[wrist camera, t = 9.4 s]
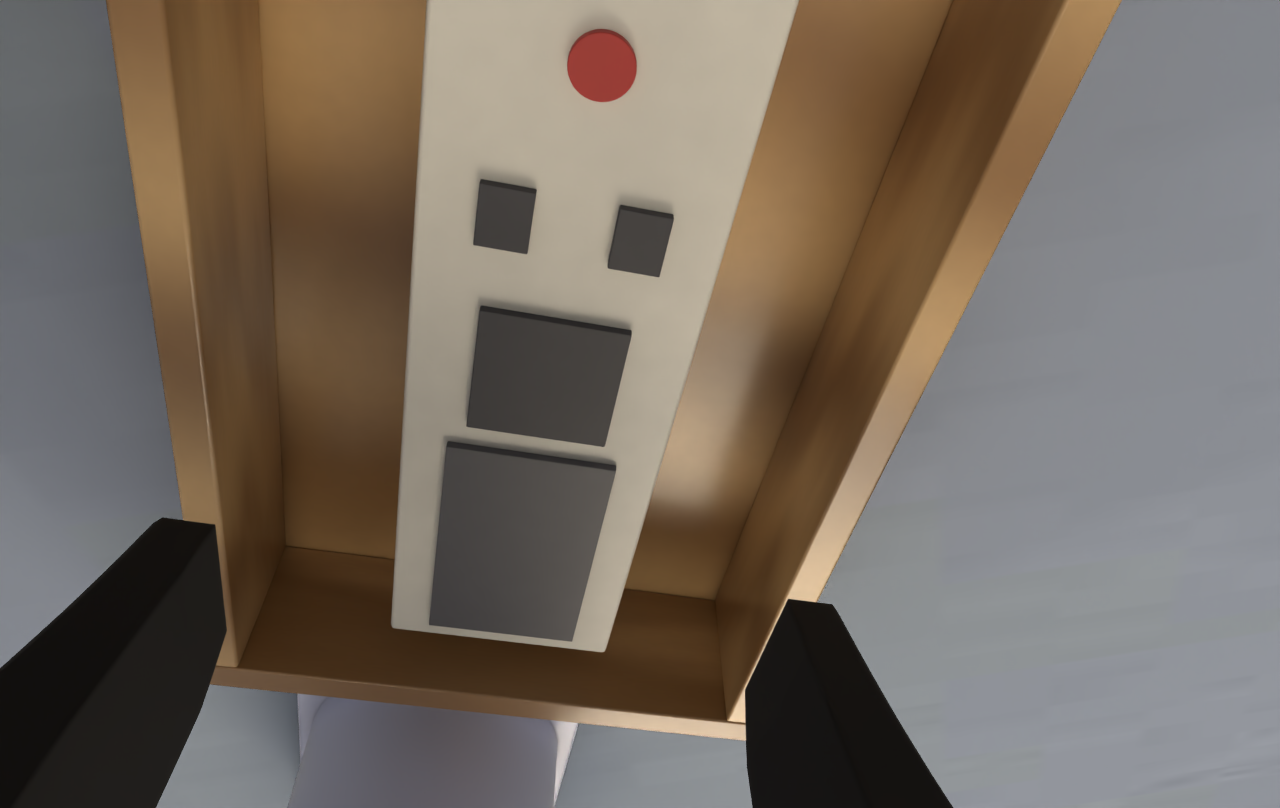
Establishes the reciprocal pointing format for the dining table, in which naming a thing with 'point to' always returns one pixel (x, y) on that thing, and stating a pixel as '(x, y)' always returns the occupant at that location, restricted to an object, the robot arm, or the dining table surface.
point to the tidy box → (719, 372)
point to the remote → (561, 292)
